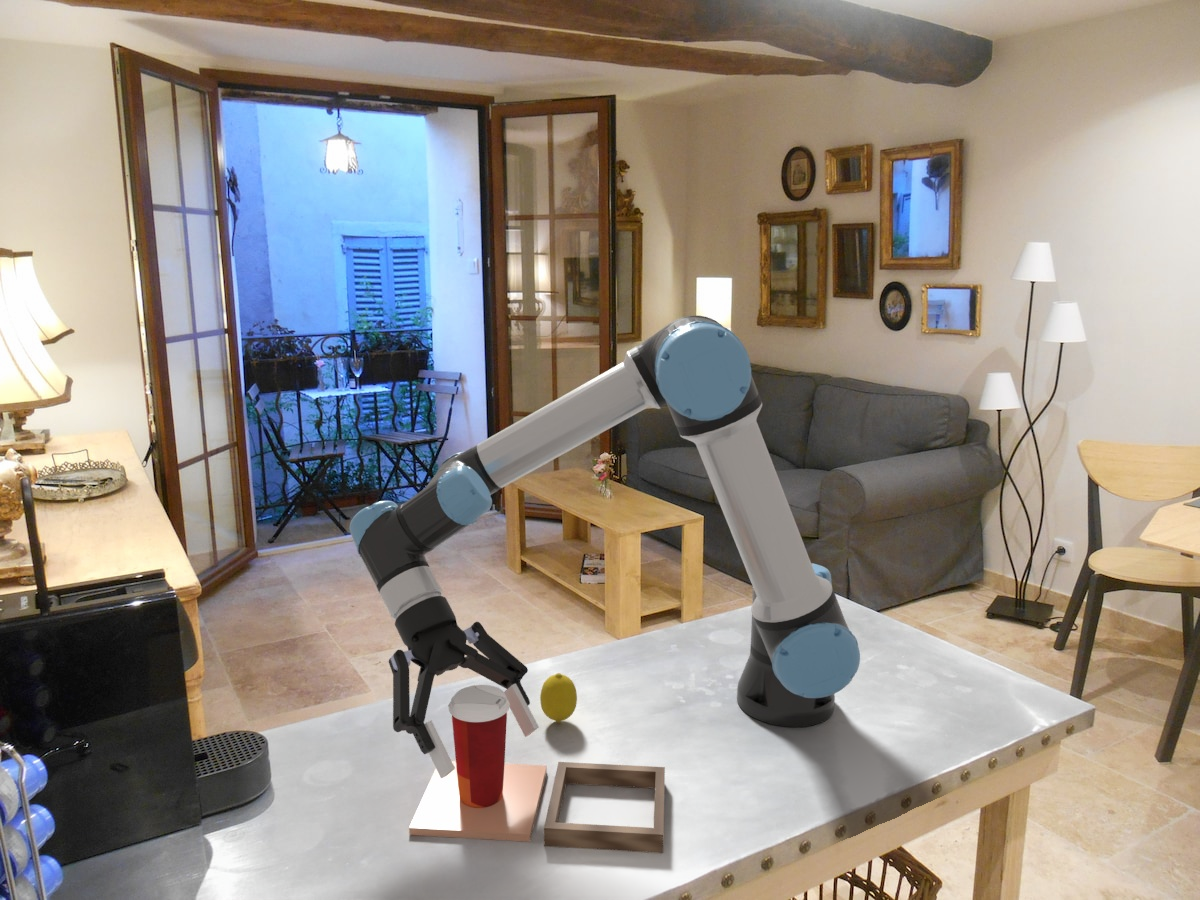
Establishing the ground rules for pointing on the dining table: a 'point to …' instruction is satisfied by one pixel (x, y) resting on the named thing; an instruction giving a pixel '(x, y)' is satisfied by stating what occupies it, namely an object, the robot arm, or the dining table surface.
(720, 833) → the dining table surface
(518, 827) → the terracotta tile
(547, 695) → the lemon
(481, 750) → the paper cup
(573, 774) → the walnut frame
